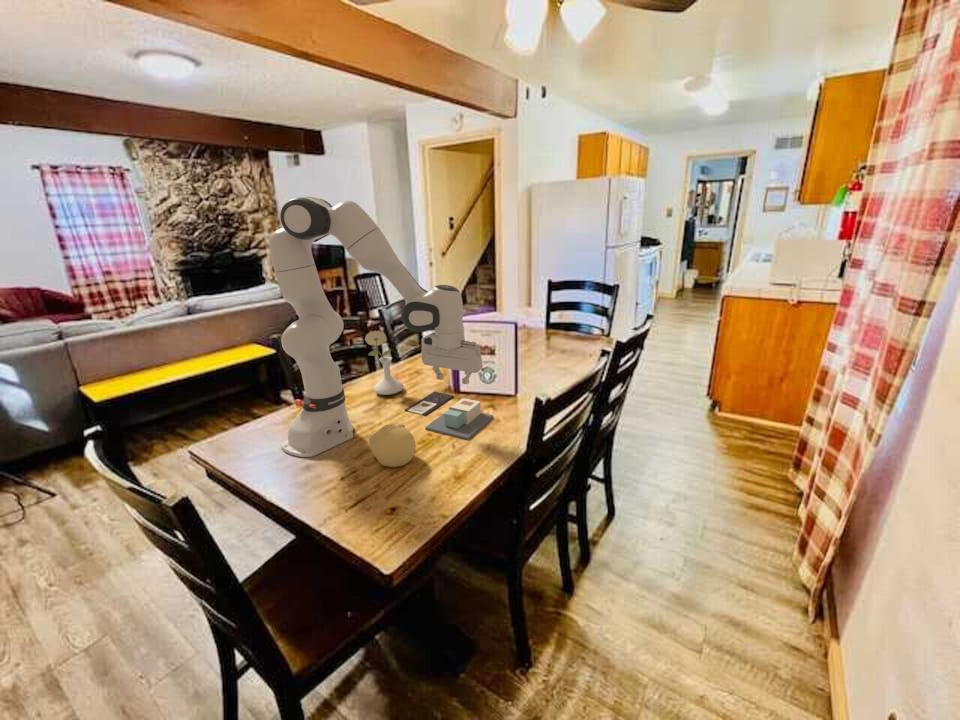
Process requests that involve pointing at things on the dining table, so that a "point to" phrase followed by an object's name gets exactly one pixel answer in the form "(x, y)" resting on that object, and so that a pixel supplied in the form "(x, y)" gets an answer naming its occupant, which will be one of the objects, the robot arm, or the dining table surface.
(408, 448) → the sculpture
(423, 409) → the chocolate bar
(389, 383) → the flower in vase
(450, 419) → the stub
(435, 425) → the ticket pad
